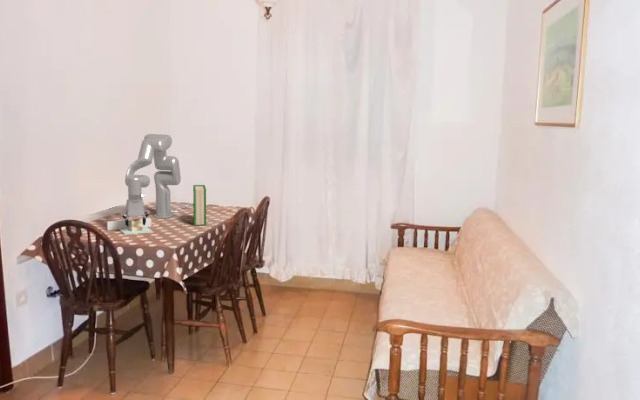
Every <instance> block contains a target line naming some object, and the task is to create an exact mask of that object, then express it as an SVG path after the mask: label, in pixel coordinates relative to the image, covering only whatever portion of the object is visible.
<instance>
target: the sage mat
mask: <svg viewBox="0 0 640 400" xmlns="http://www.w3.org/2000/svg"><path fill="white" fill-rule="evenodd" d="M119 232H121V234H122V235H124V236H127V235H138V233H140V234H147V233H149V232H150V233H153V230H152V229H150V228H149V227H142V231H131V230H130V228H127V229H119Z"/></svg>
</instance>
